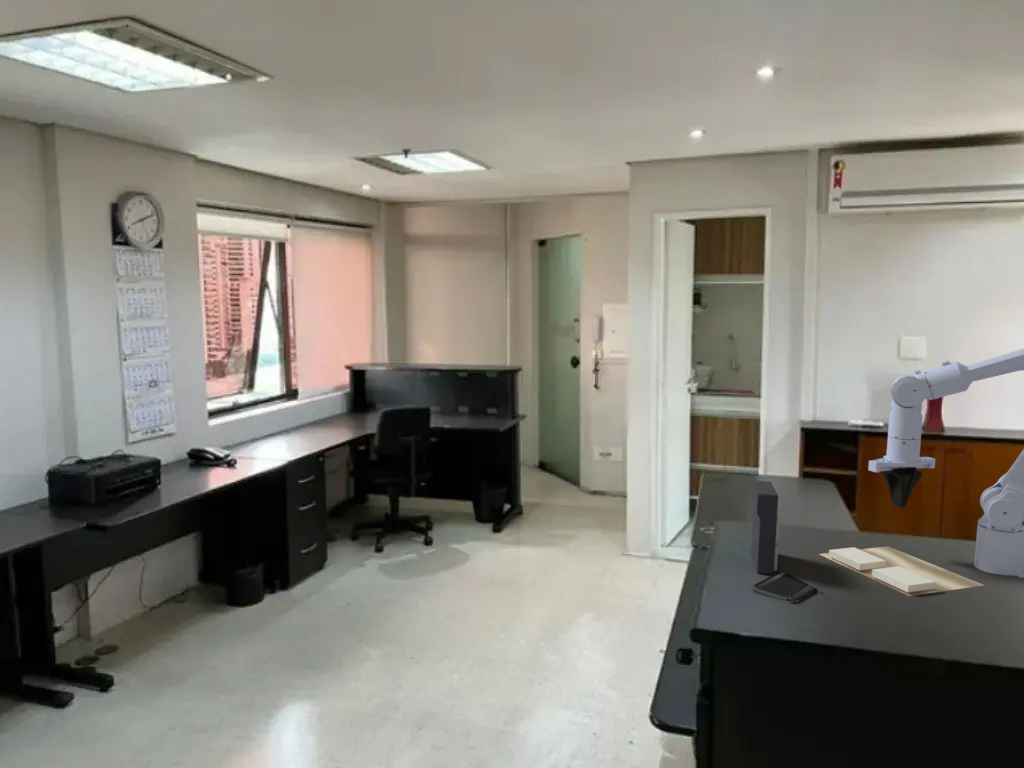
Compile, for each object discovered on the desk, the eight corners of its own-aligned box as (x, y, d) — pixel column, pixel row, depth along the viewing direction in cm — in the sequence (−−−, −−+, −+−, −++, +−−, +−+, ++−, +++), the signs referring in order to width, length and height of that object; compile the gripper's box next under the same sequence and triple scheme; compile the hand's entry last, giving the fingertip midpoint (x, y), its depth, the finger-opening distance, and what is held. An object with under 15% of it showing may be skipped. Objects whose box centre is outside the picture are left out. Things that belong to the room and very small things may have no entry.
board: (887, 550, 157) (887, 546, 157) (984, 589, 136) (984, 585, 136) (818, 557, 151) (818, 553, 151) (908, 600, 131) (909, 595, 130)
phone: (750, 586, 134) (790, 566, 144) (749, 593, 134) (790, 572, 144) (793, 600, 128) (832, 577, 138) (793, 606, 128) (832, 583, 139)
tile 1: (854, 547, 151) (829, 549, 149) (886, 560, 143) (859, 563, 141) (853, 555, 151) (828, 558, 149) (885, 569, 143) (859, 572, 141)
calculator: (778, 575, 141) (782, 495, 140) (753, 573, 142) (757, 493, 140) (770, 556, 152) (774, 481, 150) (747, 554, 153) (751, 479, 151)
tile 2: (898, 566, 140) (872, 569, 138) (935, 581, 133) (908, 585, 131) (898, 574, 140) (871, 578, 138) (934, 590, 133) (907, 594, 131)
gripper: (916, 432, 156) (911, 498, 157) (858, 435, 151) (854, 503, 152) (946, 438, 149) (940, 507, 150) (886, 441, 144) (881, 512, 146)
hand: (899, 505), depth 151 cm, fingers closed
